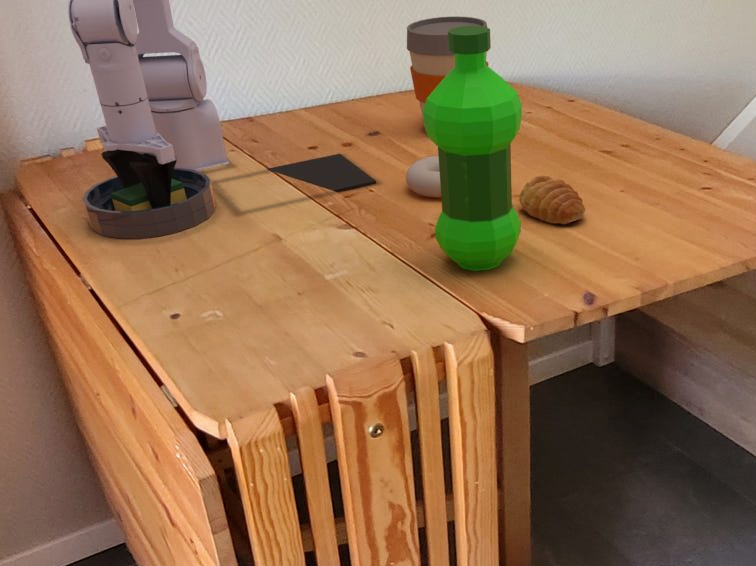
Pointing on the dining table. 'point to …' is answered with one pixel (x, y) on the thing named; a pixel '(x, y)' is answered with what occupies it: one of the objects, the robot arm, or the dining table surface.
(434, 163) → the donut
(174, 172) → the bowl
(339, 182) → the drying mat
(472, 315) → the dining table surface
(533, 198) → the pastry
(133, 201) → the sponge
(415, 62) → the reusable coffee cup
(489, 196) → the plastic bottle
